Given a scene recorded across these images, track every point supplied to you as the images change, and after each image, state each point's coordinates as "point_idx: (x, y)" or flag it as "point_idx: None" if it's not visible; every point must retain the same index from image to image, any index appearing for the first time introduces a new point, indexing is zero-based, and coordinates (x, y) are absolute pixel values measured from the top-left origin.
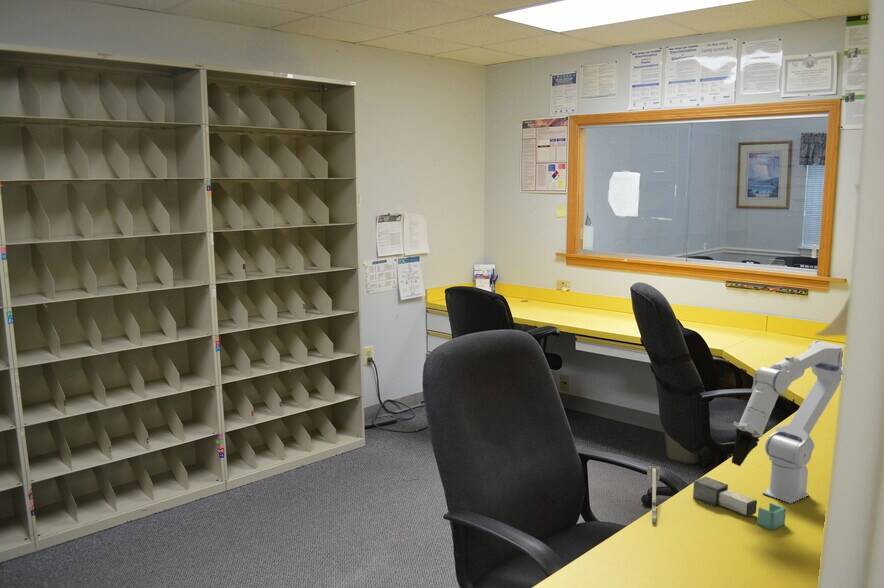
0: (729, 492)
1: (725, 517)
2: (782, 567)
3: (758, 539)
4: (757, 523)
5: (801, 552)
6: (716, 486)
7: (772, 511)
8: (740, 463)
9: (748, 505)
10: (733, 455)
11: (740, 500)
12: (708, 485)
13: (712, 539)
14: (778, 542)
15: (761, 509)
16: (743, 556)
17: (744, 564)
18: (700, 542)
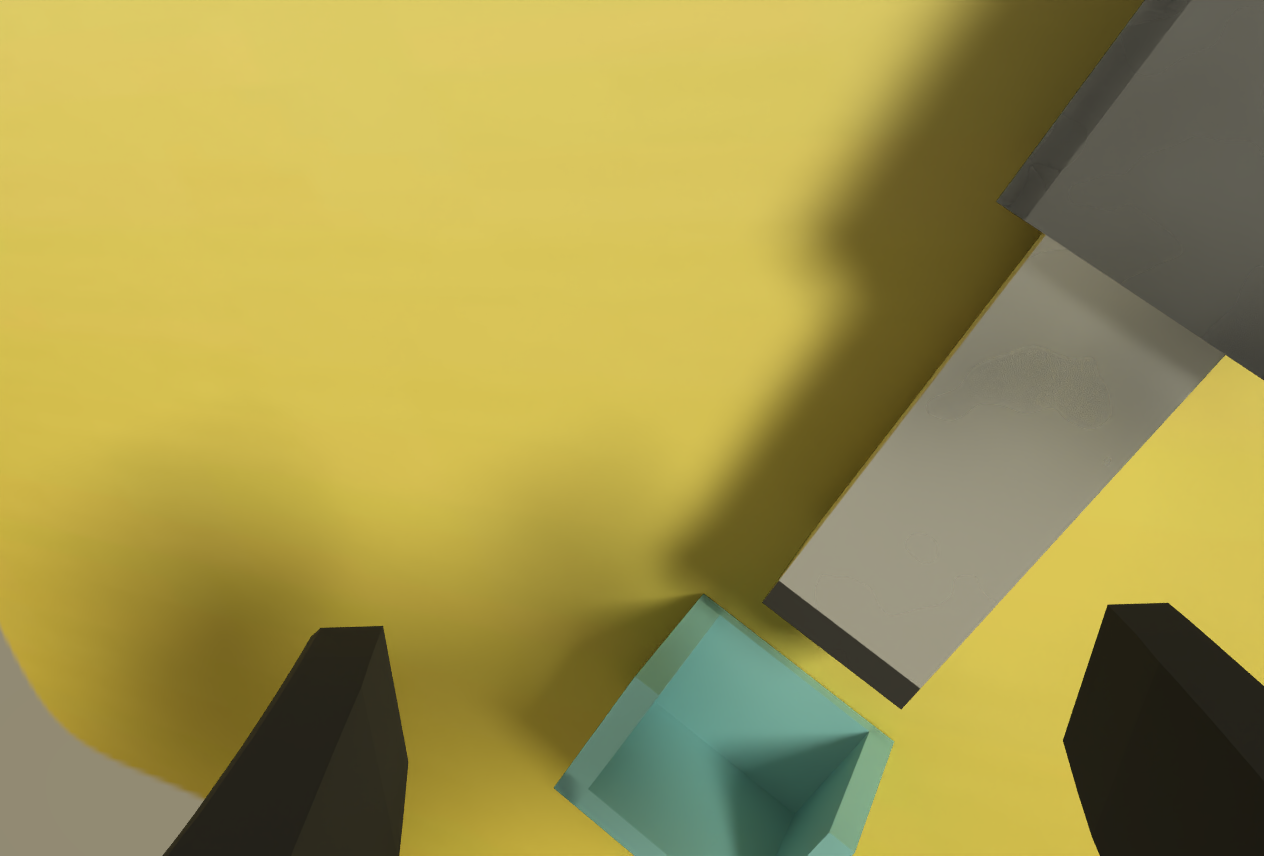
0: (1083, 396)
1: (752, 295)
2: (108, 622)
3: (411, 546)
4: (701, 598)
5: None
6: (1132, 204)
7: (828, 806)
8: (1083, 786)
9: (775, 583)
10: (284, 697)
11: (833, 512)
12: (1137, 64)
13: (239, 166)
14: (431, 688)
15: (620, 698)
16: (112, 395)
17: (23, 390)
18: (145, 66)
